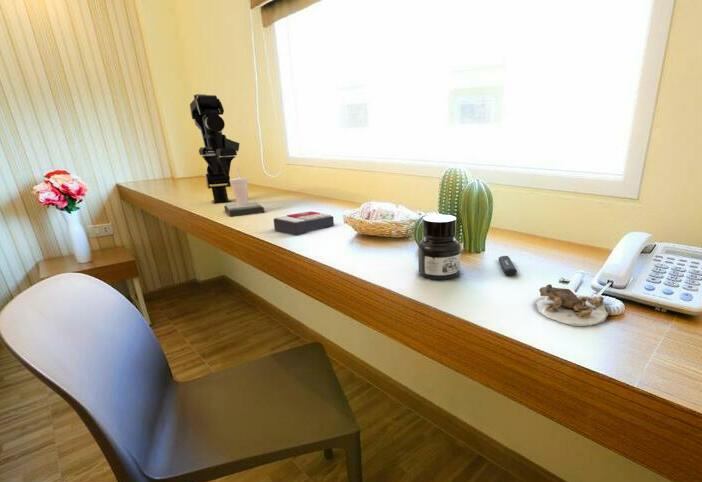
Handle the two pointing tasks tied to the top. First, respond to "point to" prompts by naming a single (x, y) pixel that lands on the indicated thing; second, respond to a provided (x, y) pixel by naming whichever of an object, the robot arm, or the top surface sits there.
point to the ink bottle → (439, 248)
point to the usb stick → (507, 265)
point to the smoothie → (240, 189)
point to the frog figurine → (571, 307)
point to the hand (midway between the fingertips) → (221, 174)
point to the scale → (243, 209)
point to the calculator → (302, 222)
